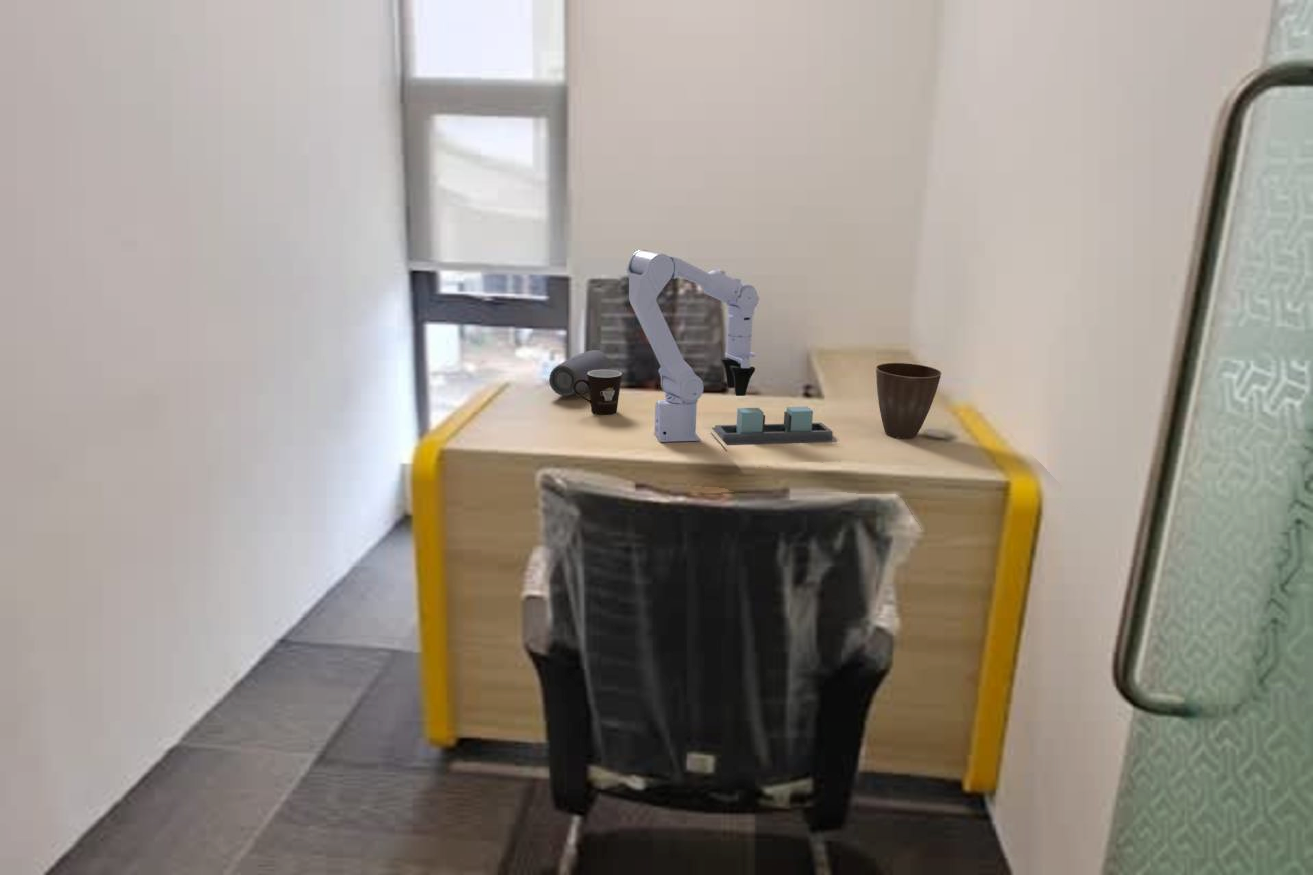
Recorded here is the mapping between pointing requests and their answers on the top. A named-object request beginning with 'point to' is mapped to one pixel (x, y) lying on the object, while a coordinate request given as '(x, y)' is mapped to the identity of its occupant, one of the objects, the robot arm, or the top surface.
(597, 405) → the coffee mug
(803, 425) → the light blue block
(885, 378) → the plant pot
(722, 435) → the rail
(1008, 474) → the top surface
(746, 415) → the lidded storage box
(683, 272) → the robot arm
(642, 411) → the top surface
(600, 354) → the bluetooth speaker
